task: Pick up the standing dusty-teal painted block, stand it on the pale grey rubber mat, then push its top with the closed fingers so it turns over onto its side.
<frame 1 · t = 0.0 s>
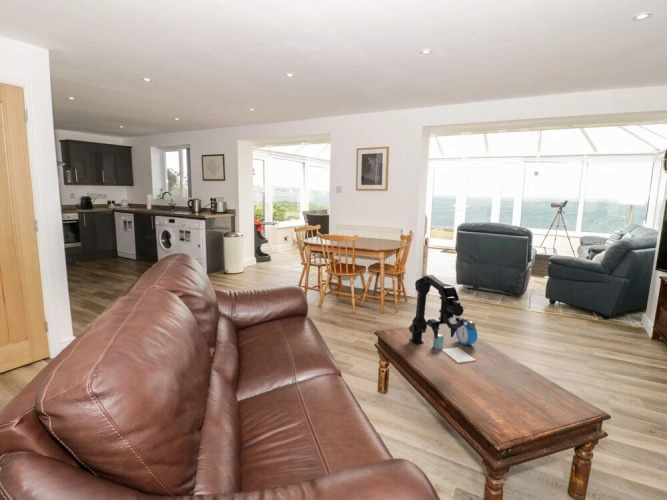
hand: (444, 337, 189), 15 cm above the table, fingers open, 9 cm apart
alarm clock: (465, 343, 217), on the table
block: (437, 348, 210), on the table
mat: (457, 355, 201), on the table
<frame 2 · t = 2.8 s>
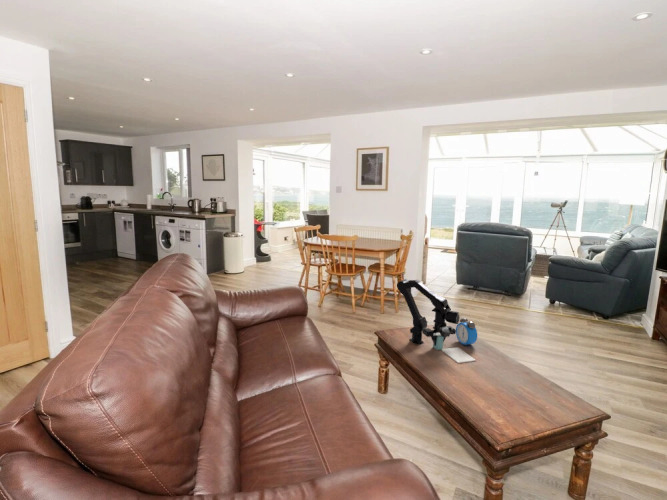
hand: (438, 345, 210), 2 cm above the table, fingers closed on block, 4 cm apart
block: (437, 348, 210), on the table, touching gripper
everything else where it was.
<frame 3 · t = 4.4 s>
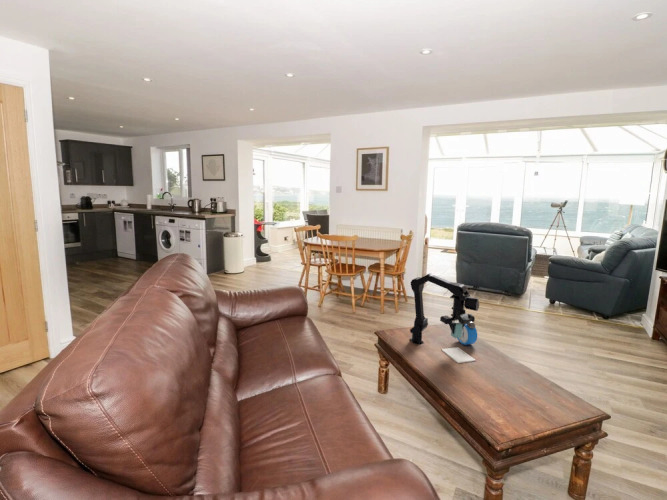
hand: (456, 333, 202), 12 cm above the table, fingers closed on block, 4 cm apart
block: (456, 336, 202), point 10 cm above the table, touching gripper
everything else where it was.
when the fingers open (3 cm above the table, at t = 6.2 s): block stays where it is, resting on mat.
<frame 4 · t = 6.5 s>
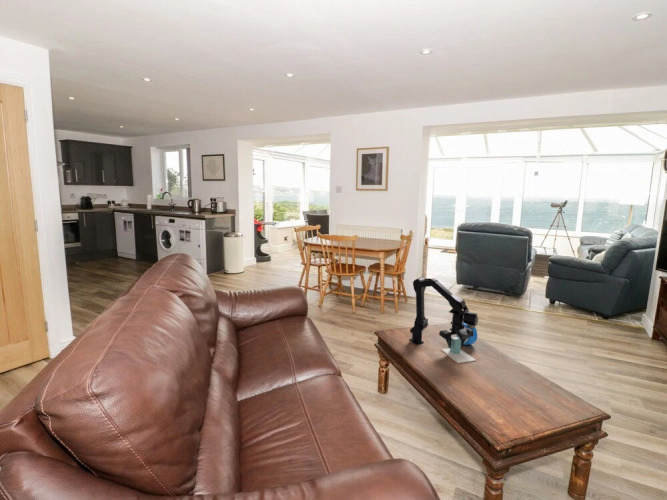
hand: (455, 347, 203), 3 cm above the table, fingers open, 7 cm apart
block: (454, 352, 204), point 1 cm above the table, touching mat
everything else where it was.
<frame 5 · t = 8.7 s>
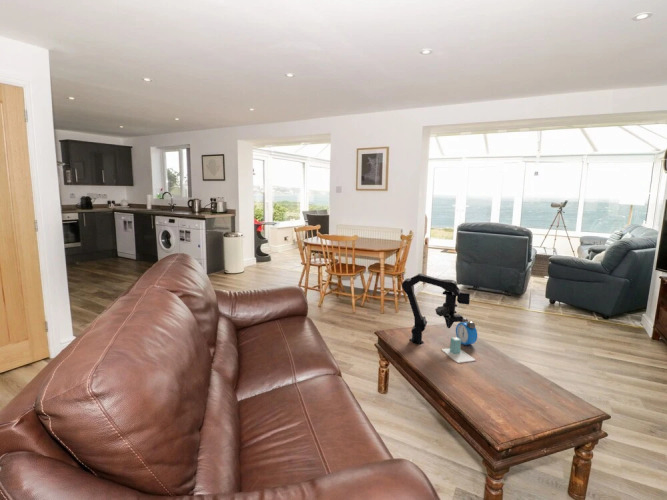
hand: (448, 327, 209), 12 cm above the table, fingers closed
nothing on the table moved.
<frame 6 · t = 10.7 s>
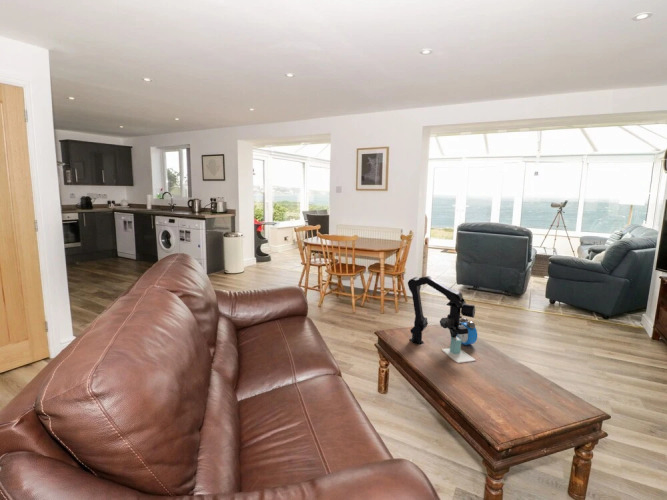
hand: (453, 339, 206), 7 cm above the table, fingers closed
block: (454, 351, 204), point 1 cm above the table, touching gripper, mat
everything else where it was.
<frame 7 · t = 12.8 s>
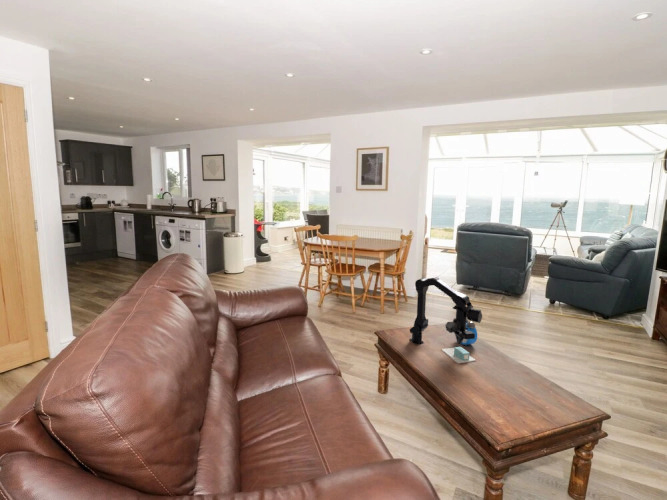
hand: (458, 344, 200), 7 cm above the table, fingers closed
block: (457, 350, 202), point 3 cm above the table, tilted 90°, touching mat
everything else where it was.
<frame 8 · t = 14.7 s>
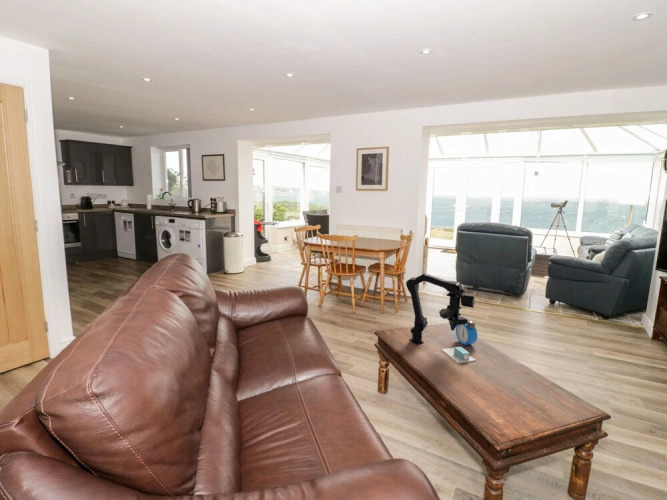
hand: (452, 330, 206), 12 cm above the table, fingers closed
nothing on the table moved.
at the end: block tilted 90°; block inside the target area (4.0 cm from its centre), point 2.6 cm above the table; the gripper is holding nothing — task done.
